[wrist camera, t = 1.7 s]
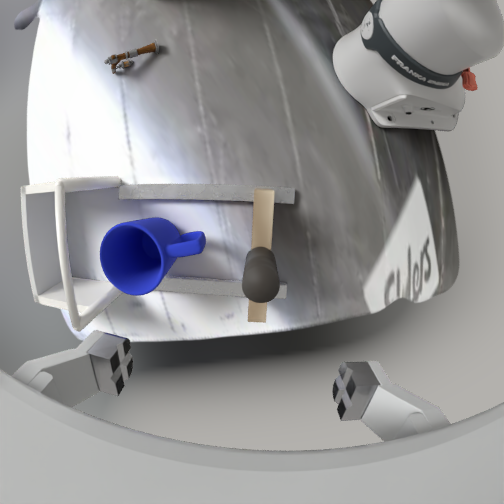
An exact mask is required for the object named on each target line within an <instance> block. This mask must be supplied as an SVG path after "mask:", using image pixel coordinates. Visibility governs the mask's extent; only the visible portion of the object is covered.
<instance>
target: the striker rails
mask: <svg viewBox="0 0 504 504" xmlns="http://www.w3.org/2000/svg"><path fill="white" fill-rule="evenodd" d="M255 188H260V189H272V190H274V191H275V192H274V203H287V204H294V197H295V188H285V187H269V186H250V185H224V184H136V185H119V199H199V200H231V201H253V202H254V189H255ZM154 290H162V291H172V292H184V293H196V294H209V295H223V296H239V297H246V296H245V295H244V293H243V290H242V281H240V280H223V279H208V278H194V277H180V276H167V275H165V277H164V278H163V280H162V281H161V283H160V284H159V285H158V287H157V288H156V289H154ZM286 293H287V283H280V289H279V292H278V294H277V295H276V297H275V298H278V299H286Z"/></svg>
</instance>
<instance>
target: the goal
mask: <svg viewBox="0 0 504 504" xmlns="http://www.w3.org/2000/svg"><path fill="white" fill-rule="evenodd" d="M120 184H121V179H120V178H119V177H118V176H108V177H76V178H59V179H58V180H57V181H56V182H49V183H41V184H34V185H28V186H22V187H21V207H22V223H23V236H24V245H25V252H26V259H27V266H28V271H29V277H30V282H31V287H32V292H33V296H34V301H35V302H36V303H40V304H44V305H48V306H52V307H56V308H60V309H65V310H69V315H70V319H71V323H72V327H73V329H74V330H76V331H81V330H82V329H84V328H85V327H86V326H87V325H88V324H89V323H90V322H91V321H92V320H93V319H94V318H95V317H96V316H97V315H98V314H100V313H101V312H102V311H103V310H104V309H105V308H106V307H107V306H108V305H109V304H110V303H112V302H113V301H114V300H115V299H116V298H117V297H118V296H119V295H120V294H122V293H123V292H122V291H120V290H119V289H117V288H116V287H115V286H114V285H113V284H112V283H111V282H108V281H100V280H92V279H84V278H76V277H72V275H71V268H70V260H69V252H68V242H67V231H66V214H65V193H68V192H76V191H85V190H94V189H103V188H114V187H118V186H119V185H120ZM78 312H79V313H81V314H80V315H79V313H78Z"/></svg>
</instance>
